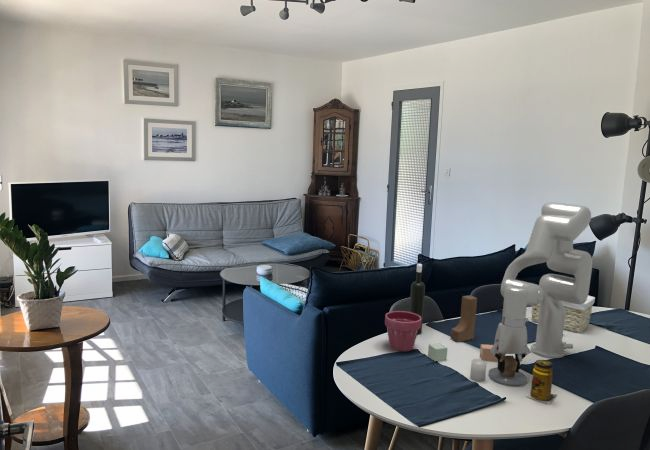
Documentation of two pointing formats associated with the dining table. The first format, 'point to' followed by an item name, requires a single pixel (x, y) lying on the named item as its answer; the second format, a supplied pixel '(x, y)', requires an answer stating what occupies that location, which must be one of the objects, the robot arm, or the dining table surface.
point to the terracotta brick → (487, 353)
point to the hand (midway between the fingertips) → (508, 370)
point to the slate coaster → (508, 378)
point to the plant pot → (402, 329)
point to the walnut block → (509, 366)
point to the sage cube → (437, 352)
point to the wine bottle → (417, 296)
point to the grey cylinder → (478, 370)
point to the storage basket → (572, 314)
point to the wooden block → (466, 320)
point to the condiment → (542, 382)
